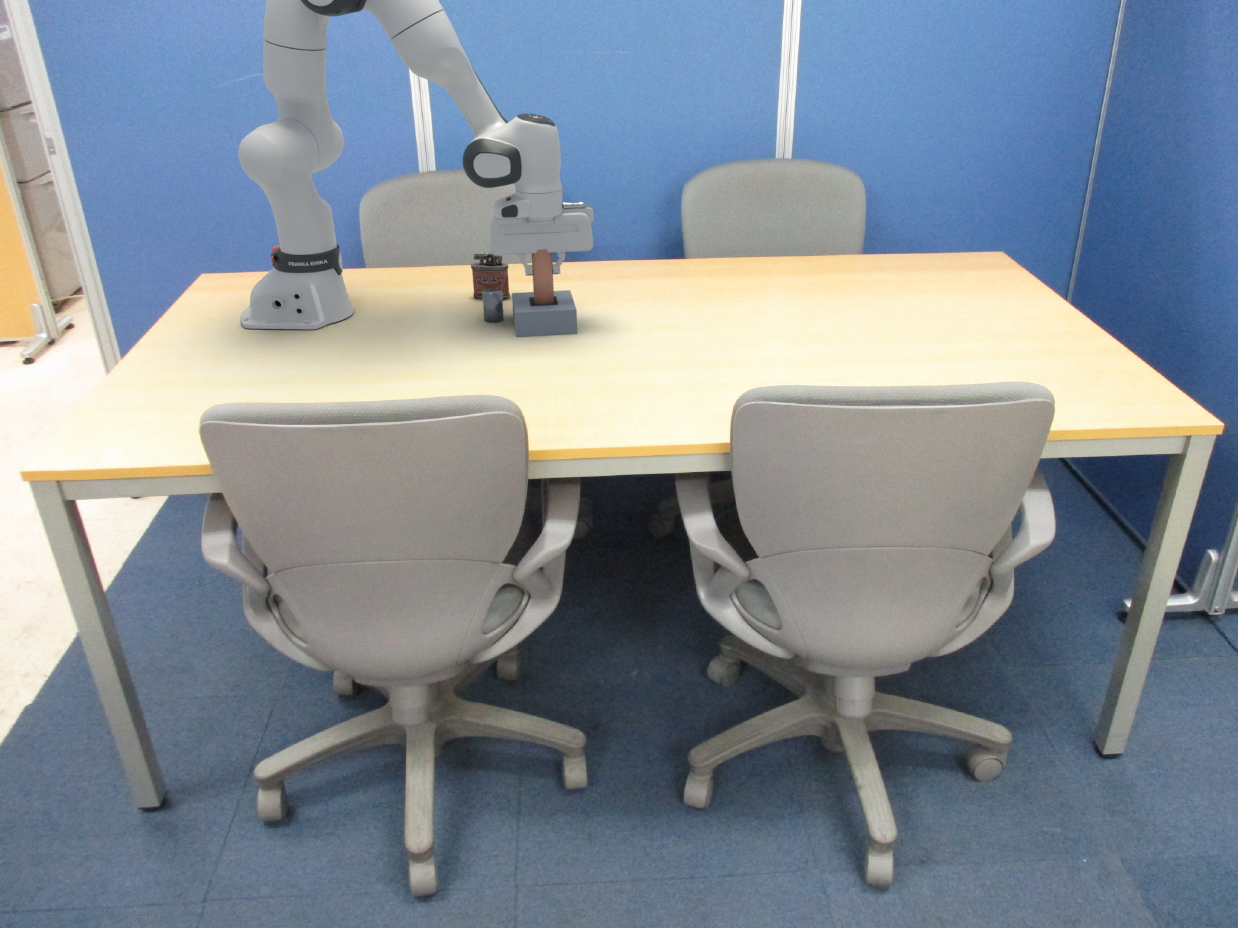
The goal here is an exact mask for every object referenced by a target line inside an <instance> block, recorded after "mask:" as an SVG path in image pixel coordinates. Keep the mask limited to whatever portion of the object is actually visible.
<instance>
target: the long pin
mask: <svg viewBox="0 0 1238 928" xmlns="http://www.w3.org/2000/svg"><path fill="white" fill-rule="evenodd" d="M553 264H554V263H553V253H549V252H548V250H537V253H534V254H531V265H532V267H533V275H532V286H533V287H532V288H533V292H534V303H536V304H540V305H547V304H551V303H553V302H554V291H555V290H554V289H555V287H554V274H553Z"/></svg>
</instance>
